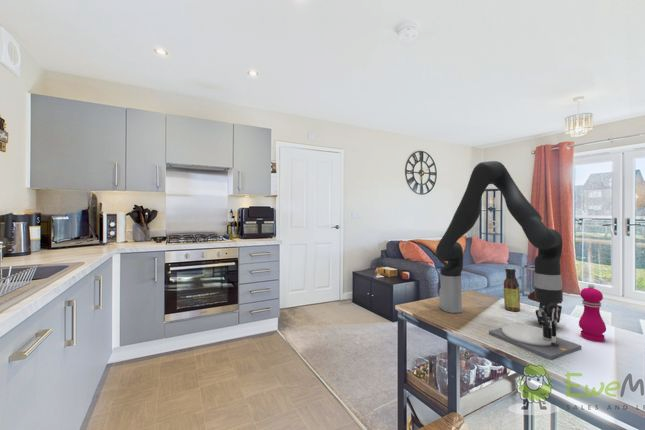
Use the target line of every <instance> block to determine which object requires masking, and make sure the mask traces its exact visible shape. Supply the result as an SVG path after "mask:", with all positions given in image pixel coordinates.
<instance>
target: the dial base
mask: <svg viewBox="0 0 645 430" xmlns="http://www.w3.org/2000/svg"><path fill="white" fill-rule="evenodd" d="M488 334H489V335H490V336H493V337H494V338H498V339H500V340H502V341H504V342H507V343H509V344H512V345H513V346H517V347H519V348H521V349H524V350H526V351H528V352H529V353H530V352H531V353H532V354H535V355H538V356H541V357H542V358H544V359H547V360H549V361H552V360H556V359H558V358H561V357H563V356H566V355H569V354H572V353H575V352H577V351H580V350H582V345H581V344H578V343H575V342H572V341H570V340H566V339H563V338H560V337H557V336H555V337H556V343H557V344H559V346H558V347H557V346H554V345H550V346H536V345H530V344H525V343H521V342H518V341H515V340H513V339H510V338H508V337H507V336H505V335H504V334H503V333H502V327H500V328H495V329H492V330H488Z"/></svg>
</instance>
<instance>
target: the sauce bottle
mask: <svg viewBox="0 0 645 430" xmlns="http://www.w3.org/2000/svg"><path fill="white" fill-rule="evenodd" d="M504 271H505V279H504V281H503V298H504V299H503V300H504V301H503V302H504V308H505V310H507V311H510V312H519V311H520V309H521V302H520V301H521V297H520V295H521V294H520V284H519V282H518V280H517V278H516V268H514V267H506V268H505V269H504Z"/></svg>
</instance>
